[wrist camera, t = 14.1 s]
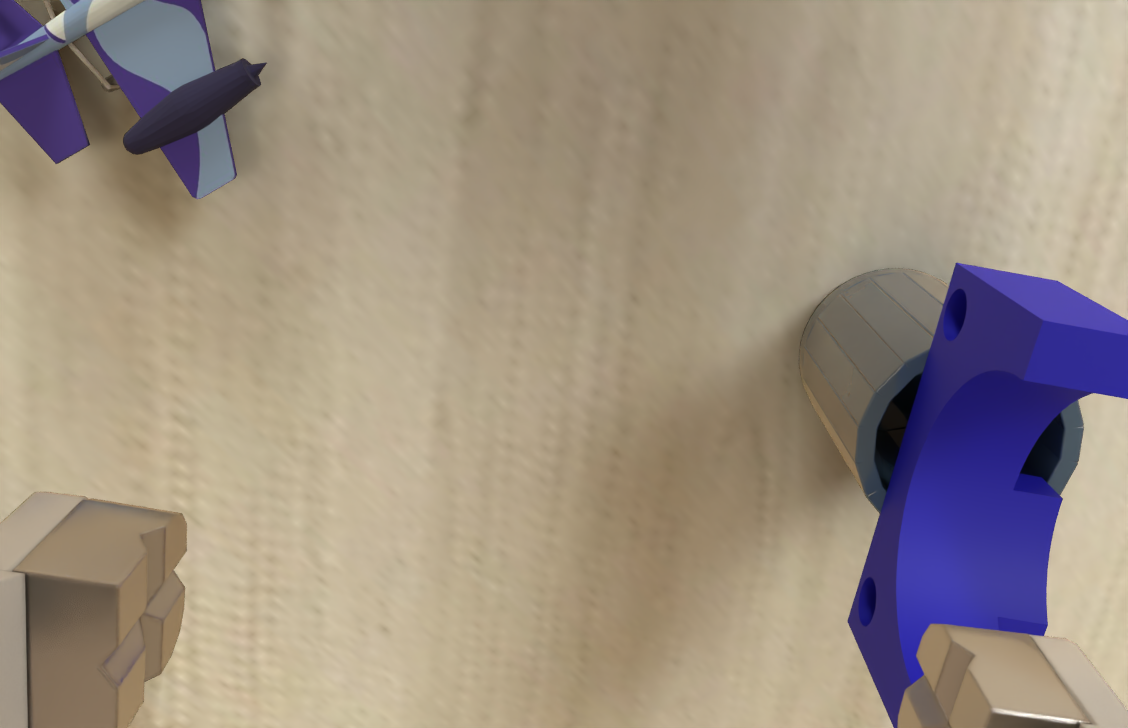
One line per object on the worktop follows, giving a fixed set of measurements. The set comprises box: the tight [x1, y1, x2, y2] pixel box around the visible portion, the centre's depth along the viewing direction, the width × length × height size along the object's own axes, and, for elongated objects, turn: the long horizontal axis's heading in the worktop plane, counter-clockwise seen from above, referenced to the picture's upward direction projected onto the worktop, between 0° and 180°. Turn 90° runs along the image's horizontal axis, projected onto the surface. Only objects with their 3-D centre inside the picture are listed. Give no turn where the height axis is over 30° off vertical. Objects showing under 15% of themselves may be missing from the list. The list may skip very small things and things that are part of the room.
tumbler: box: [799, 268, 1084, 513], centre depth 36 cm, size 7×7×9 cm
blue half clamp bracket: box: [848, 263, 1128, 728], centre depth 29 cm, size 12×4×6 cm, turn 170°
